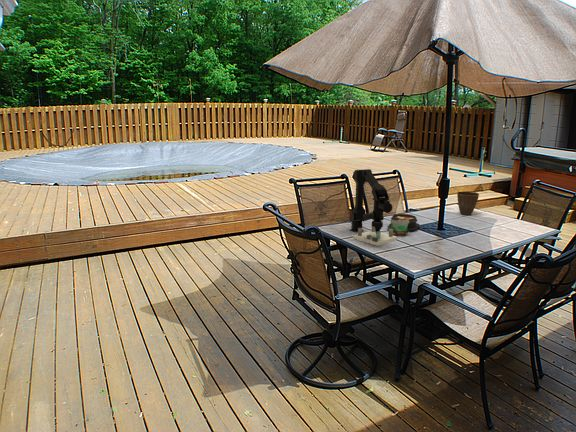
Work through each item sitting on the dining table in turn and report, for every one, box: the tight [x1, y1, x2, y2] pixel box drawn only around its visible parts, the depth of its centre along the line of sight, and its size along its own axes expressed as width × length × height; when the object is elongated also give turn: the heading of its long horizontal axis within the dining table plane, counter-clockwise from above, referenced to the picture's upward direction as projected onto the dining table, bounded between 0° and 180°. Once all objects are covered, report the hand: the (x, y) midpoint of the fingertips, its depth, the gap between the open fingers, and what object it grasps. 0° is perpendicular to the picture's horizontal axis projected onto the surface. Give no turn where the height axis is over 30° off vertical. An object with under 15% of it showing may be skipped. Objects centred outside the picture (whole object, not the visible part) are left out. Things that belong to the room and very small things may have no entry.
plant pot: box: [456, 191, 480, 217], centre depth 319 cm, size 15×15×16 cm
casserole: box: [387, 213, 421, 232], centre depth 282 cm, size 25×19×8 cm
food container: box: [389, 218, 409, 237], centre depth 267 cm, size 12×6×10 cm, turn 105°
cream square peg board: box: [352, 226, 398, 247], centre depth 260 cm, size 18×18×6 cm
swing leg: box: [367, 230, 382, 240], centre depth 253 cm, size 9×3×5 cm, turn 54°
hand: (377, 234), depth 254 cm, fingers closed
